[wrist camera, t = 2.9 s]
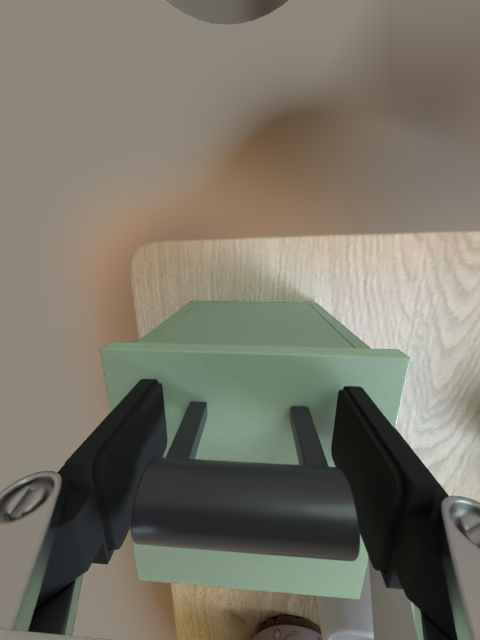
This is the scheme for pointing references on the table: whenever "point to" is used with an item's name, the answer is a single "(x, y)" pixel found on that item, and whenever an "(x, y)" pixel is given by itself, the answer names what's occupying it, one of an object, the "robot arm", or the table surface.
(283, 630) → the flowerpot
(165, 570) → the green box lid
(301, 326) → the box
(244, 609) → the table surface
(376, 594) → the phone holder
